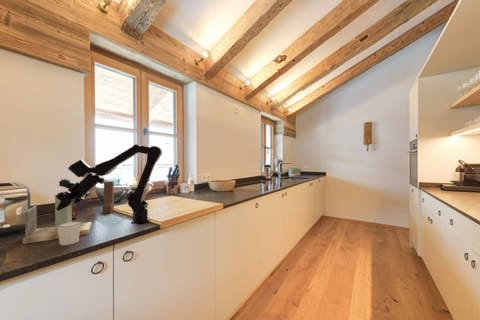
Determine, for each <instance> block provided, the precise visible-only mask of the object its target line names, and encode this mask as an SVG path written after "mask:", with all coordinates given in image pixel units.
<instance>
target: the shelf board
mask: <svg viewBox="0 0 480 320" xmlns="http://www.w3.org/2000/svg"><path fill="white" fill-rule="evenodd" d="M24 213H25V219H24V220H25V222H24V223H25V236H24V237H23V238H22V244H23V245H26V244H31V243H39V242H46V241H52V240H57V239H58V240H59V234H58V227H57V226H58V225H57V226H48V227H41V228H37V221H38V220H37V205H35V206H34V205H33V206H31V207H30V208H28V209H27V210H25V212H24ZM92 225H93V224H92V221H88V222H80V232H79V236H85V235H89V234H90V232H91V229H92Z"/></svg>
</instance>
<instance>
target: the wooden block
mask: <svg viewBox="0 0 480 320" xmlns="http://www.w3.org/2000/svg"><path fill="white" fill-rule="evenodd" d="M104 181H105V183H103V204H102V214H103V215H106V214H112V213H113V211H114V210H113V208H115V191H114V190H115V186H114V185H115V184H114V183H115V181H114V180H104Z"/></svg>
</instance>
